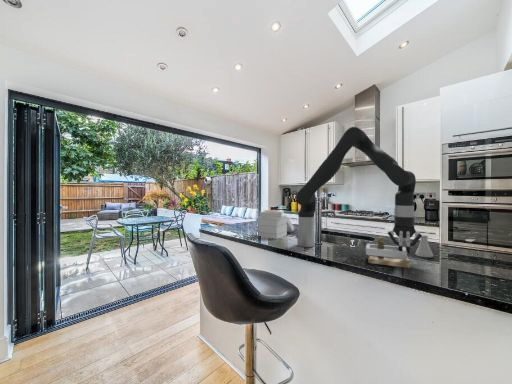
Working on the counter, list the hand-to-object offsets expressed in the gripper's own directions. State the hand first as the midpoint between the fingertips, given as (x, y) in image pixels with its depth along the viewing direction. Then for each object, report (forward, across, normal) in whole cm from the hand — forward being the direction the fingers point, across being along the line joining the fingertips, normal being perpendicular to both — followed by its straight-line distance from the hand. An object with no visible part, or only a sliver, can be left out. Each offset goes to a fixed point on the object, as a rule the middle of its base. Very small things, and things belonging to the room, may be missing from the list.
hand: (404, 254), depth 105 cm
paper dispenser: (+4, -77, +37) cm, 86 cm away
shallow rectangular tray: (+1, -7, 0) cm, 7 cm away
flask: (+4, +10, +18) cm, 21 cm away
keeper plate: (+4, -6, 0) cm, 8 cm away
